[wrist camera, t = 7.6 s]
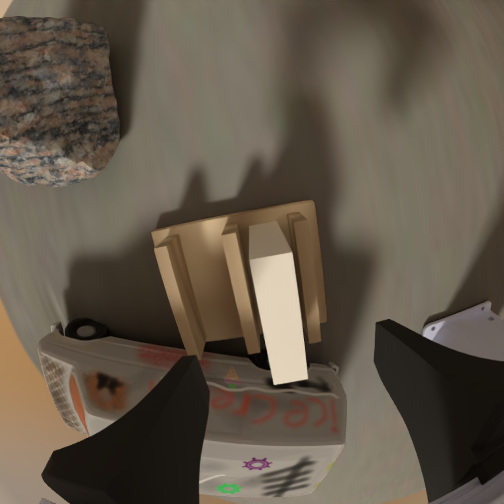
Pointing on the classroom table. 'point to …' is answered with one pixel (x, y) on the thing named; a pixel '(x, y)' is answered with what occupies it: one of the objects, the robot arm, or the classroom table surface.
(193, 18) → the classroom table surface
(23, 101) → the stone
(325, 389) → the toy car
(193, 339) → the rack
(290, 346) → the tall cream block
